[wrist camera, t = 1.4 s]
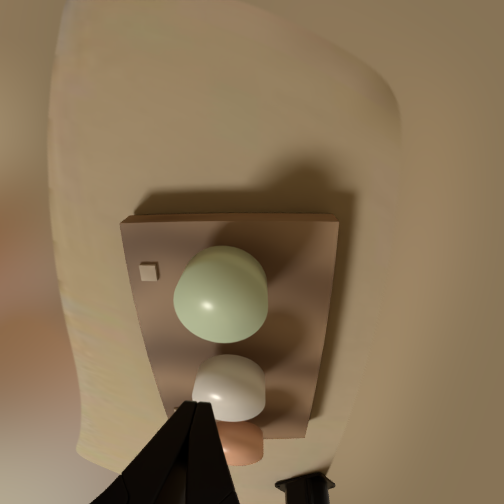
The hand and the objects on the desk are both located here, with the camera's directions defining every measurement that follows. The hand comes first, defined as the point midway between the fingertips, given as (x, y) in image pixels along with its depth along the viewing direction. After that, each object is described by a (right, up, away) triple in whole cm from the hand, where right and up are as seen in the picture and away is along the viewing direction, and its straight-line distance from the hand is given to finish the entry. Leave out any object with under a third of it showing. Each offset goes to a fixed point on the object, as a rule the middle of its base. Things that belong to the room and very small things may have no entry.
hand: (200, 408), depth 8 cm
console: (0, -2, +13) cm, 13 cm away
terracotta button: (0, -10, +13) cm, 16 cm away
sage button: (0, +3, +7) cm, 8 cm away
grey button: (0, -3, +10) cm, 11 cm away
